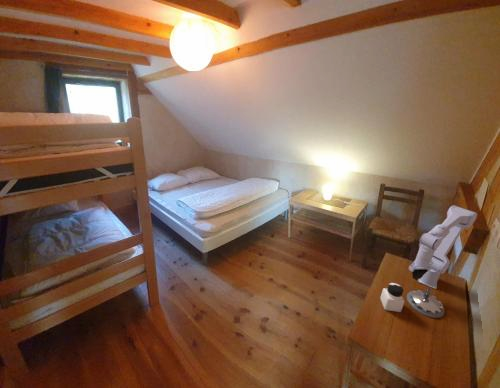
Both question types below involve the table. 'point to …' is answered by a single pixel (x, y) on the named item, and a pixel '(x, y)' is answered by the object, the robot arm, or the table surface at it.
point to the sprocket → (426, 301)
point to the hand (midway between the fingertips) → (416, 278)
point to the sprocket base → (423, 311)
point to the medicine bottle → (392, 297)
